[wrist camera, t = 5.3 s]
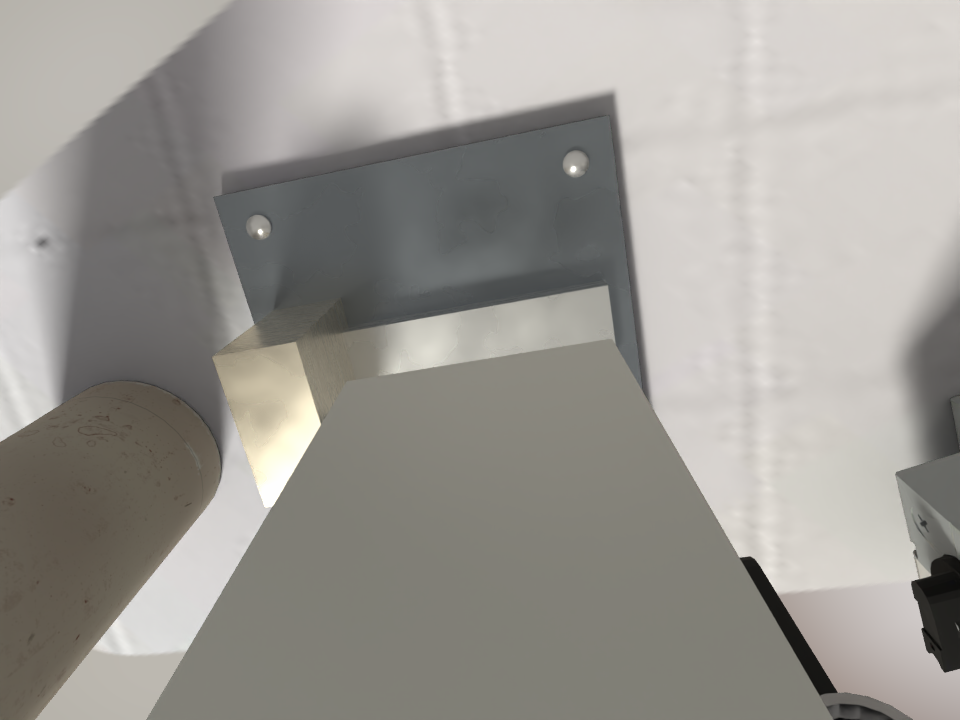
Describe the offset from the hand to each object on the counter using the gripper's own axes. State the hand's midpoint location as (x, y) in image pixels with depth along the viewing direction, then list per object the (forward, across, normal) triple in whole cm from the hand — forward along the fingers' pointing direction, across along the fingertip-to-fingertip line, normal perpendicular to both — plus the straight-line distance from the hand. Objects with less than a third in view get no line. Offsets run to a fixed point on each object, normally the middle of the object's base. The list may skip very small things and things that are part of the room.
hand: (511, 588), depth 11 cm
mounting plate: (+18, +2, +1) cm, 18 cm away
